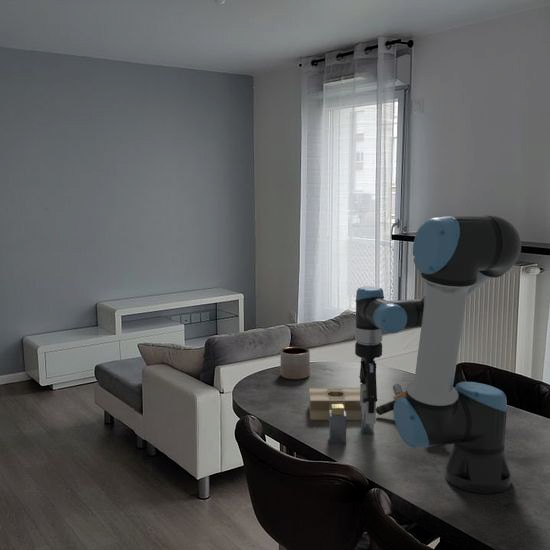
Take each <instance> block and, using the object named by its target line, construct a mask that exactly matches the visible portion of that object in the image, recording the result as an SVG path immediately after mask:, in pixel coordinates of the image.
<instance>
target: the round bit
mask: <svg viewBox="0 0 550 550" xmlns="http://www.w3.org/2000/svg"><path fill="white" fill-rule="evenodd" d="M370 397H374V396H370ZM366 398H367V397H366V390H364V391H363V401H362V403H361V420H360V422H361V423H360V433H361V434H363V435H367V436H368V435H373V434H374V433H375V424H366V423H365V412H366V402H364V399H366Z"/></svg>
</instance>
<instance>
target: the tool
mask: <svg viewBox="0 0 550 550" xmlns="http://www.w3.org/2000/svg"><path fill="white" fill-rule="evenodd" d="M392 390H393V393H394V395H393V396H392V397H393V400H392V401H388V402H385V403H384V404H381V405H379V406H376V414H377V415H379V416H381V415H385V414H387V413H389V412H392V411H394V403H395V401H396V400H397V399H398V398H400V397H405V396H406V390H405V391H403V389H402V385H401V384H399V383H395V384H393V386H392Z"/></svg>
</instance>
